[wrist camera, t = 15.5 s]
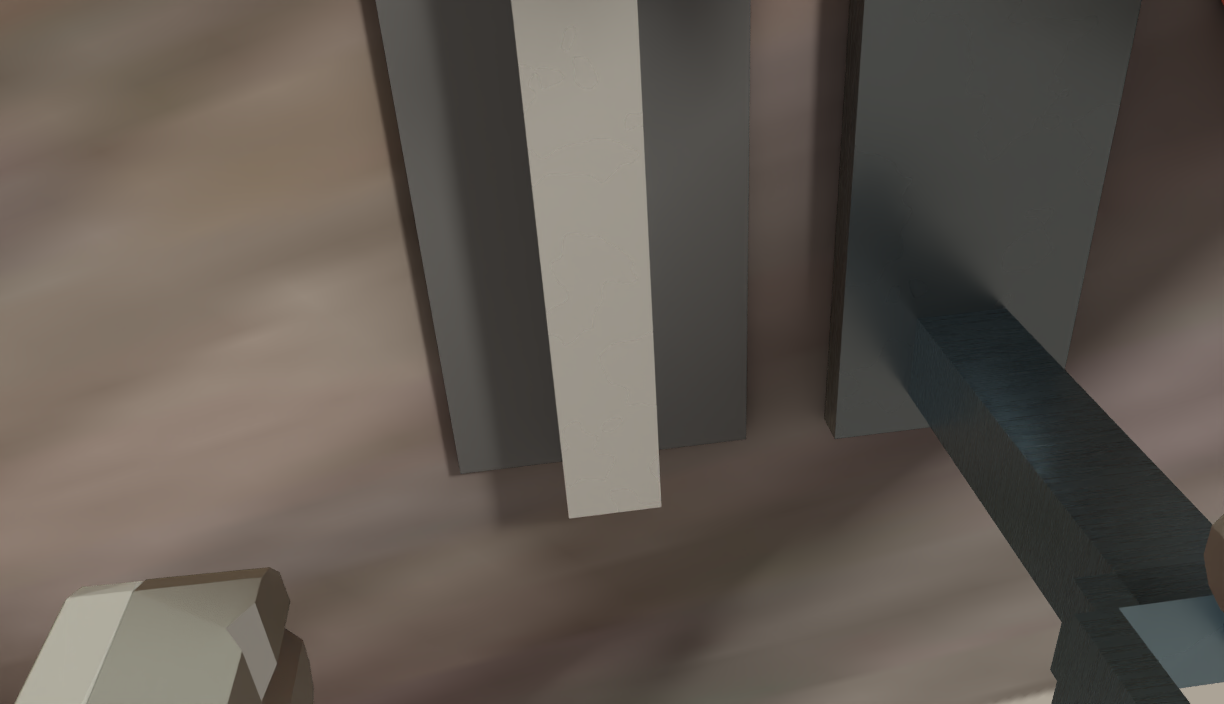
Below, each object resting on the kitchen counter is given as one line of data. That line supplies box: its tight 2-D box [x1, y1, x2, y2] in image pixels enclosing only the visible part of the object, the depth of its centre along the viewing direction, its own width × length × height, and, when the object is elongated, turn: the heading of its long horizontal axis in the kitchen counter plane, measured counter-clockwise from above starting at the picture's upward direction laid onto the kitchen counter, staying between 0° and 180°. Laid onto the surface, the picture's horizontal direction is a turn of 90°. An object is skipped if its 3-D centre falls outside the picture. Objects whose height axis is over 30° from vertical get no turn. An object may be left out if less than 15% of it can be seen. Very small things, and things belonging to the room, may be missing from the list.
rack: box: [825, 0, 1224, 704], centre depth 21 cm, size 8×30×17 cm, turn 4°
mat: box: [375, 0, 751, 474], centre depth 27 cm, size 10×30×1 cm, turn 4°
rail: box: [510, 0, 661, 519], centre depth 25 cm, size 3×30×3 cm, turn 4°
